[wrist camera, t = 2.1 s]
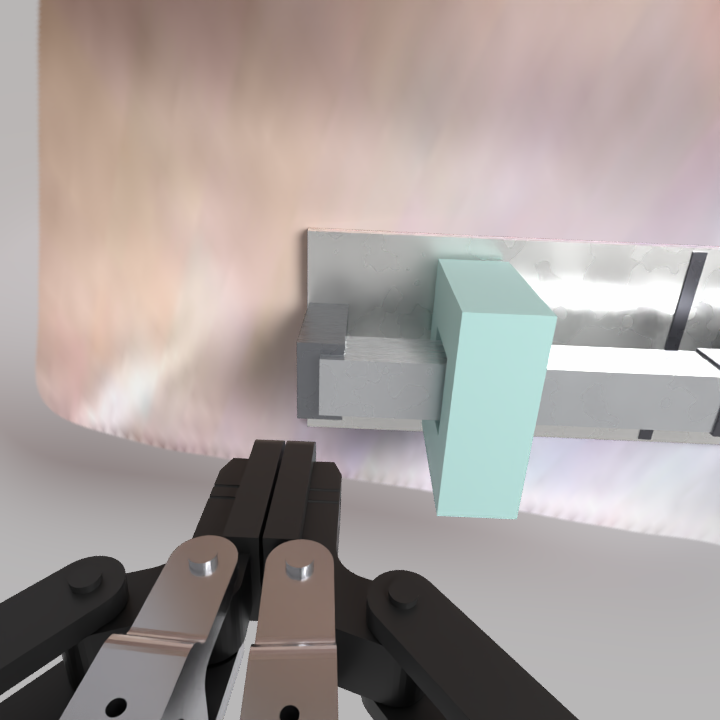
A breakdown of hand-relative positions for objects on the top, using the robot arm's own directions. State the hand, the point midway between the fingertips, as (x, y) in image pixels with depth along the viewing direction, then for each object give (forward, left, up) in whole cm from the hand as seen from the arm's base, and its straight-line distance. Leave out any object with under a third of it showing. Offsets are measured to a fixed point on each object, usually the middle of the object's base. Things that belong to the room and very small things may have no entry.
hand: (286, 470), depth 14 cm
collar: (+5, +8, -19) cm, 21 cm away
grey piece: (+4, +13, -21) cm, 25 cm away
